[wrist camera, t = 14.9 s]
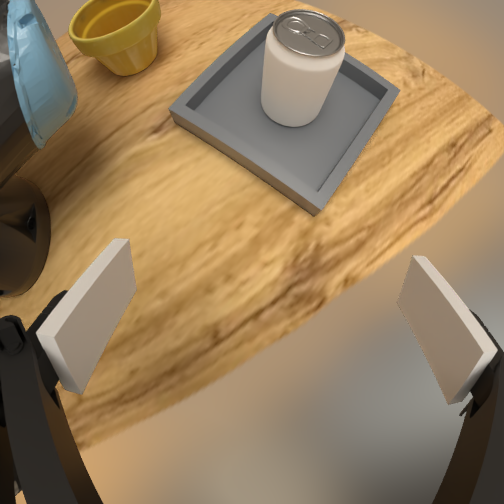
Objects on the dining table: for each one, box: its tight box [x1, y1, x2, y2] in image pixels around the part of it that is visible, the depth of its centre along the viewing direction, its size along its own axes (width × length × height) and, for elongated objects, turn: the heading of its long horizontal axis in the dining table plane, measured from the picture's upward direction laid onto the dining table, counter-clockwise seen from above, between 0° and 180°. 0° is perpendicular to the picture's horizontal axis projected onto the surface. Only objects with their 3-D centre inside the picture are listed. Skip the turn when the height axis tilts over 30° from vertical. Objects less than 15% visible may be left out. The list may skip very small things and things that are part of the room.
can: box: [261, 9, 345, 127], centre depth 24 cm, size 6×6×12 cm
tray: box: [169, 13, 400, 216], centre depth 29 cm, size 18×18×3 cm
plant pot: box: [68, 0, 161, 76], centre depth 26 cm, size 10×10×10 cm
